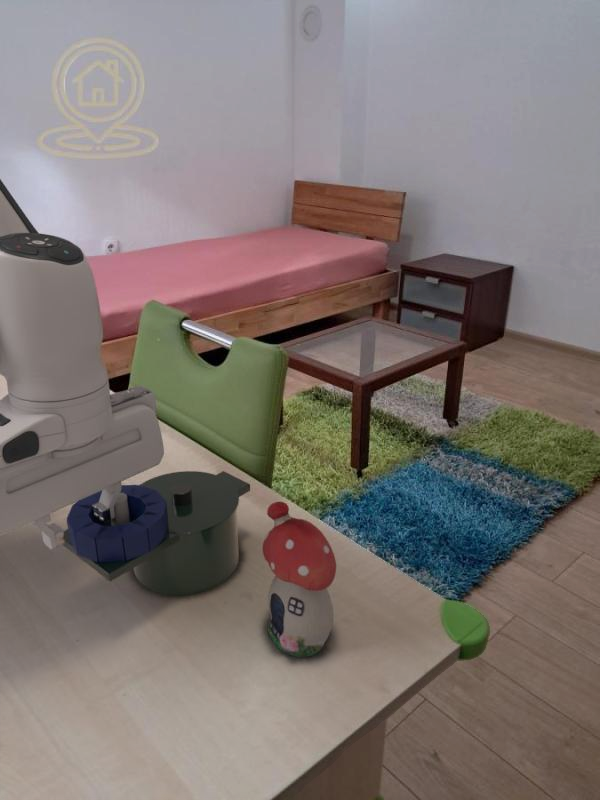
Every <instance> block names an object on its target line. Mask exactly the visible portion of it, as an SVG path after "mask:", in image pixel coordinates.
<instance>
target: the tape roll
mask: <svg viewBox="0 0 600 800" xmlns="http://www.w3.org/2000/svg"><path fill="white" fill-rule="evenodd" d="M121 486H122V490H121V492H120V493H124V494H126V495H127V500H128V508H129V516H130V517H134V518H137V519H136V520H135V521H133V522H130V523H127V524H124V525H121V526H103V525H101V523H100V522H99V521H97V520H96V519H95V517H94V512H95V511H93V505H94V504H96V503H98V502H99V500H100V497H101V494H102V490H101V491H99V492H97V493H95V494H93V495H90V496H88V497H86V498H84V499H82V500H79V501H77V502H75V503H73V504H71V508H70V510H69V512H68V514H67V517H66V525H67V529H68V531H69V537H70V542H71V544H72V546H73V548H74V549H75V551H76V553H77V554H78V555H79V556H81V557H84V558H87V559H90V560H92V561H95V562H99V563H104V562H124V561H125V560H126V561H128V560H130V559H133V558H136V557H138V556H141V555H144V554H146V553H149V551H152V550H153V549H154V548H155V547H156V546H158V545H159V544H160V543H161V542H162V541H163V540H164V539H165V537H166V534H167V529H168V514H167V503H166V500H165V499H164V498H163V497H162V496H161V495H160V494H159V493H158V491H156V490H154V489H151V488H147V487H144V486H140V484H121Z"/></svg>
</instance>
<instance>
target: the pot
mask: <svg viewBox="0 0 600 800" xmlns="http://www.w3.org/2000/svg"><path fill="white" fill-rule="evenodd" d="M139 485H140V486H144V487H147V488H151V489H154V490H156V491H158V493H159V494H160V495H161V496H162V497H163V498H164V499H165V500H166V503H167V514H168V529H167V534H166V537H165V539H164V540H163V541H162V542H161V543H160V544H159V545H158V546H156V547H155V548H154V549H153V550H152V551H149V553H146V554H144V555H141V556H138V557H136V558H133V559H130V560H128V561H126V560H125V561H124V562H104V563H99V562H95V561H92V560H90V559H87V558H84V557H81V556H79V555H78V554H77V553H76V551H75V549H74V548H73V546H72V544H71V542H70V537H69V531H68V528H67V529H65V530H64V537H63V538H64V539H65V543H64V544H62V545H61V546H63V547H65V549H67V550H68V551H69V552H71V553H72V554H74V555H75V556H76V557H77V558H79V559H80V560H81V561H82V562H83V563H85V564H86V565H88V566H89V567H90V568H91V569H93V570H94V571H96V572H97V573H98V574H99V575H101V576H102V577H103V578H104V579H106V580H107V581H109V582H113V580H116V579H117V578H119V577H121V576H122V575H124V574H126V573H128V572H129V571H131V570H133V572H134V575H135V577H136V579H137V580H138V582H139V583H140V584H141V585H142V586H144V587H146V588H147V589H149V590H151V591H152V592H155V593H159V594H163V595H167V596H168V595H169V596H188V595H189V596H190V595H194V594H199V593H203V592H206V591H209V590H212V589H213V588H216V587H217V586H219V585H220V584H222V583H224V582H226V580H227V579H228V578H230V577H231V576H232V574H233V573H234V572H235V570H236V569H237V567H238V564H239V559H240V558H239V557H240V556H239V554H240V553H239V529H238V528H239V527H238V507H239V504H240V497H241V496H243V495H246V494H248V493H249V492H250V491H251V484H250V483H248V482H246V481H244V480H242V479H240V478H239V477H236V476H235V475H233V474H230V473H229V472H226V471H224V470H223V471H220V472H219V473H217V474H215V473H212V472H211V473H210V472H205V471H193V470H191V471H190V470H186V471H183V470H182V471H175V472H169V473H164V474H161V475H158V476H155V477H151V478H150V479H148V480H145V481H144V482H142V483H140V484H139ZM114 512H115V518H114V519H112V520H110V521H108V522H106V523H104V524H101V525H103V526H121V525H124V524H127V523H130V522H133V521H135V520H136V519H137V518H134V517H130V516H129V508H128V500H127V495H126V494H124V493H120V494H119V497H118V499H117V501H116V504H115V505H114Z"/></svg>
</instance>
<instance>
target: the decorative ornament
mask: <svg viewBox="0 0 600 800" xmlns="http://www.w3.org/2000/svg"><path fill="white" fill-rule="evenodd" d="M289 511H290V507H289V505H288V504H287V503H286V502H284V501H275V502H272V503H271V504H270V505H268V508H267V510H266V514H267V516H268V517H269V518H270V519H271V520H272V521H273V523H274V526H273V527H272V529H270V530H269V532H267V534H266V535H265V537H264V540H263V544H262V555H263V557H264V559H265V561H266V562H267V564H268V566H269V568H270V570H271V571H272V573H273V574H274V575H275V576H274V577H273V578H272V581H271V583H270V586H269V590H268V597H267V599H268V600H267V602H268V609H269V613H270V620H269V621H268V623H267V631H268V634H269V637H270V639H271V640H272V641H273V643H274V645H275V646H276V647H277V648H278V649H279V650H280V651H281V652H282V653H284V654H287V655H289V656H291V657H295V658H297V659H300V658H305V657H311V656H312V657H313V656H315V655H318V653H319V652H320V651H321V650H322V649H323V647H324V645H325V642H326V641H327V640H328V638H329V635H330V634H331V631H332V629H333V623H334V607H333V602H332V599H331V596H330V593H329V590H328V588H329V587H330V586H331V585H332V583H333V582H334V580H335V577H336V572H337V562H336V557H335V554H334V551H333V549H332V546H331V544H330V543H329V540H328V539H327V538H326V536H325V535H324V534H323V532H322V531H321V530H320V529H319V528H318V527H317V526H316V525H314V524H313V523H312V522H311V521H309V520H307V519H303V518H297V517H293V516H291V515H290V514H289Z"/></svg>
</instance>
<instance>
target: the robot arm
mask: <svg viewBox="0 0 600 800" xmlns="http://www.w3.org/2000/svg"><path fill="white" fill-rule="evenodd" d="M96 284H97V283H96V280H95V277H94V273H93V270H92V267H91V264H90V262H89V260H88V258H87V256H86V255H85V253H84V251H83V250H82V248H80V247H79V246H78V245H77V244H75V243H73V242H72V241H70V240H68V239H65V238H63V237H60V236H56V235H52V234H48V233H47V234H46V233H40V232H38V230H37V229H36V227H35V226H34V225H33V223H32V222H31V221H30V219H29V218H28V216H27V215H26V213H25V212H24V211H23V209H22V208H21V206H20V205H19V203H18V202H17V200H15V198H14V197H13V195H12V194H11V192H10V191H9V190H8V188H7V186H6V185H5V183H4V182H3V181H2V179H1V178H0V376H2V377H3V378H4V379H5V381H6V385H7V394H6V395H4V397H2V398H1V399H0V537H1V536H5V535H6V534H9V533H10V532H13V531H15V530H17V529H19V528H22V527H24V526H27V525H28V524H32V525H34V526H35V527H36V528H37V529H38V530H40V532H41V537H42V542H43V543H44V545H45V546H46V547H47V548H48V549H49V550H53V549H55V548H58V547H60V546H63V545H62V544H64V543H65V539H64V538H63V537H64V531H65V530H64V529H63V528H62V527H59V525H57V524H56V523H55V522H53V523H50V522H51V520H52V519H51V514H52V513H55V512H57V511H59V510H61V509H63V508H66V507H68V506H70V505H73V504H75V503H76V502H78V501H79V500H82V499H84V498H86V497H88V496H90V495H93V494H95V493H97V492H99V491H101V490H102V494H101V497H100V500H99V502H98V503H96V504H94V505H93V511H95V512H94V517H95V519H96V520H97V521H99V522H100V523H101V524H104V523H106V522H108V521H110V520H112V519H114V518H115V512H114V505H115V504H116V501H117V499H118V497H119V494H120V492H121V490H122V486H121V485H122V482H123V481H126V480H128V479H130V478H132V477H135V476H137V475H140V474H141V473H144V472H146V471H148V470H150V469H152V468H155V467H157V466H158V465H160V464H161V462H162V460H163V458H164V455H165V447H164V440H163V436H162V431H161V426H160V423H159V419H158V416H157V398H156V395H155V393H154V392H153V391H152V390H151V389H150V388H148V387H143V386H142V385H135V386H132V387H130V388H128V389H126V390H125V389H124V390H122V391H117V392H114V393H111V391H110V390H111V389H110V382H109V374H108V370H107V367H106V366H105V364H104V361H103V357H102V344H103V339H104V327H103V319H102V312H101V305H100V298H99V293H98V289H97V285H96ZM48 523H50V524H49V525H47V524H48Z"/></svg>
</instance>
